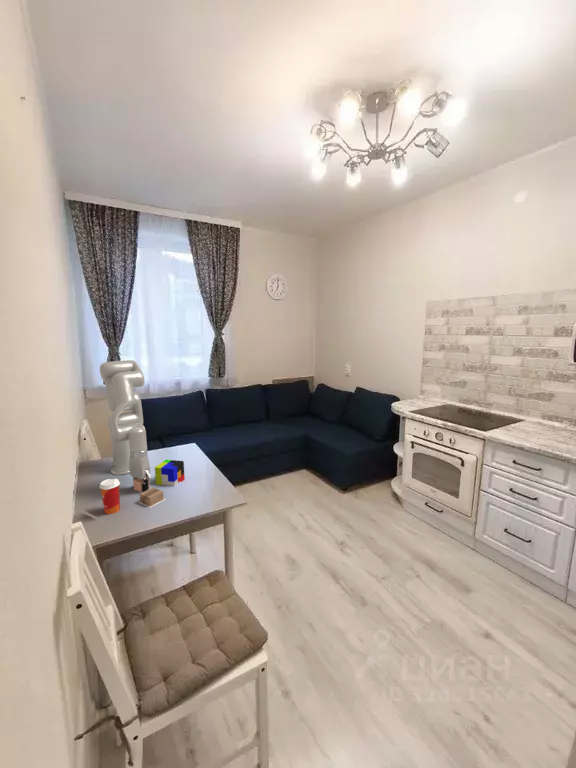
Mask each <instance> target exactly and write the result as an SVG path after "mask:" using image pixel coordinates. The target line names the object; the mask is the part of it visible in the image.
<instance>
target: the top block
mask: <svg viewBox="0 0 576 768" xmlns="http://www.w3.org/2000/svg"><path fill="white" fill-rule="evenodd" d="M144 480H146V478H144ZM132 482H133V483H132V485H133V490H134V491H137V492H139V493H143V492H142V484H143V483H142V479H139V478H137V479H134V480H133V479H132ZM148 484H149V489H151V488H150V481H149V482H148Z"/></svg>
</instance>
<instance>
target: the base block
mask: <svg viewBox="0 0 576 768" xmlns="http://www.w3.org/2000/svg"><path fill="white" fill-rule="evenodd" d="M164 499H165V497H164V491H163V490H161V489H158V488H155V487H151V488H149V489H148V490H146V491H144V492H139V502H141V503H143V504H146V505H148V506H153V505H154V504H156V503H158V502H160V501H162V500H164ZM164 501H165V500H164ZM162 502H163V501H162ZM160 503H161V502H160ZM158 504H159V503H158ZM156 505H157V504H156ZM153 507H154V506H153Z"/></svg>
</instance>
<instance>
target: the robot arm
mask: <svg viewBox="0 0 576 768" xmlns="http://www.w3.org/2000/svg"><path fill="white" fill-rule="evenodd" d="M99 375H100V377H101V379H102V381H103V382H104V384H105V385H104V386H105V389H106V398H107V405H108V408H109V410H110V411H111V412H112V413H111V415H110V416H109V417H108V419H107V421H106V422H107V427H108V430H109V435H110V441H111V451H112V452H111V453H112V460H113V461H111V465H113V467H112V468H111V469H110V472H111V474H113V475H117V476H118V475H120V476H121V475H122V476H123V475H127V474H129V475H130V476H131V477H132V481H133V480H134V479H137V478H139V479H142V483H143V484H142V492H141V493H143V492H145V491H147V490H149V489H150V488H149V486H150V481H151V480H152V476H151V467H150V460H149V455H148V443H147V430H146V427H145V426H144V415H143V414H144V413H143V406H142V399H141V395H140V393H138V392H137V391H134V388H141V387H143V386H144V385H145V376H144V374H143V372H142V370H141V368H140V366H139V365H138V362H136V361H135V360H131V359H130V360H114V361H107V362H103V363H101V364H100V365H99ZM130 410H131V411H130ZM124 411H129V412H124ZM123 412H124V413H123ZM144 478H146V480H144ZM148 482H149V484H148Z"/></svg>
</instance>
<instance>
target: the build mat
mask: <svg viewBox="0 0 576 768" xmlns="http://www.w3.org/2000/svg"><path fill="white" fill-rule="evenodd" d="M166 500H167V499H166V498H164V500H162V501H160V502H158V503H156V504H154V505H153V506H148V505H146V504H143V503H141V502H140V501H138V502H137V503H138V504H140V505H142V506H145V507H147V508H150V509H151V508H152V507H155V506H156V505H158V504H160V503H163V502H164V501H166Z"/></svg>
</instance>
